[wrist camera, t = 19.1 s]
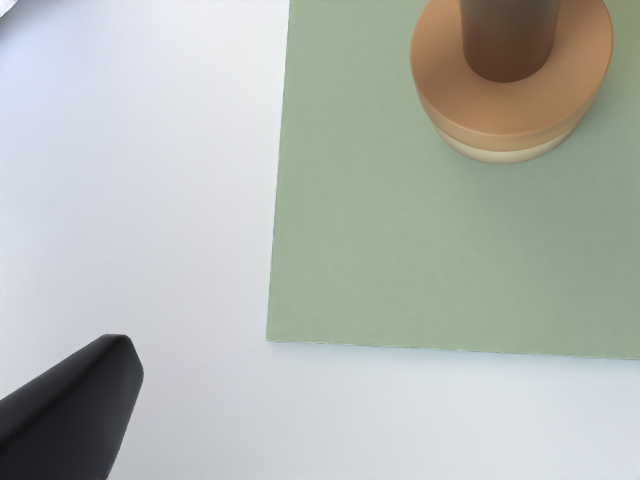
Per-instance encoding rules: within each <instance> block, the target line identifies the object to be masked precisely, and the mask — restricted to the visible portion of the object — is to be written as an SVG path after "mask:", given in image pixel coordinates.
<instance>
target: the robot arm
mask: <svg viewBox="0 0 640 480" xmlns="http://www.w3.org/2000/svg"><path fill="white" fill-rule="evenodd" d="M143 377H144V372H143V367H142V364H141V362H140V360H139V357H138V355H137V352H136V350H135V348H134V345H133V343H132V341H131V339H130V338H129V337H128V336H126V335H121V334H105V335H102V336H101V337H99V338H97V339H96V340H94V341H93V342H91V343H90V344H88V345H86V346H85V347H83V348H82V349H80V350H79V351H77V352H76V353H74V354H72V355H71V356H69V357H68V358H66V359H65V360H63V361H61V362H60V363H58V364H57V365H55V366H54V367H52V368H50V369H49V370H47V371H46V372H44V373H43V374H41V375H39V376H38V377H36V378H35V379H33V380H32V381H30V382H28V383H27V384H25V385H24V386H22V387H21V388H19V389H17V390H16V391H14V392H13V393H11V394H10V395H8V396H7V397H5V398H3V399H2V400H0V480H107V478H108V475H109V473H110V471H111V469H112V466H113V464H114V462H115V459H116V456H117V454H118V451H119V449H120V446H121V443H122V440H123V437H124V434H125V432H126V429H127V426H128V423H129V420H130V417H131V414H132V411H133V409H134V406H135V403H136V400H137V397H138V394H139V391H140V388H141V386H142V382H143Z"/></svg>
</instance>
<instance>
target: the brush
mask: <svg viewBox="0 0 640 480" xmlns="http://www.w3.org/2000/svg"><path fill="white" fill-rule="evenodd" d="M613 38H614V37H613V27H612V22H611V18H610V15H609V12H608V10H607V7H606V5H605V3H604V1H603V0H429V1H428V3H427V4H426V6H425V7H424V9H423V10H422V12H421V14H420V16H419V17H418V20H417V22H416V25H415V27H414V30H413V34H412V38H411V44H410V66H411V72H412V76H413V80H414V84H415V87H416V91H417V94H418V97H419V100H420V103H421V105H422V107H423V109H424V111H425V112H426V114H427V115H428V117H429V118H430V121H431V123H432V125H433V127H434V129H435V130H436V132H437V133H438V135H439V136H440V137H441V138H442V140H443V141H444V142H445V143H446V144H447V145H449V146H450V147H451V148H452V149H453V150H455V151H456V152H458V153H460V154H461V155H463V156H465V157H468V158H470V159H472V160H475V161H479V162H482V163H488V164H498V165H507V164H517V163H522V162H526V161H529V160H532V159H536V158H538V157H540V156H542V155H544V154H547V153H548V152H550V151H551V150H553V149H555V148H556V147H557V146H559V145H560V144H561V143H562V142H563V141H565V140H566V139H567V138H568V136H569V135H570V134H571V133H572V132H573V131H574V129H575V128H576V127H577V125H578V124H579V122H580V120H581V118H582V117H583V116H584V115H585V113H586V112H587V111H588V109H589V108H590V107H591V105H592V104H593V102H594V100H595V98H596V96H597V94H598V92H599V90H600V87H601V85H602V82H603V80H604V77H605V75H606V72H607V69H608V67H609V64H610V61H611V56H612V51H613Z"/></svg>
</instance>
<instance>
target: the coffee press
mask: <svg viewBox="0 0 640 480" xmlns="http://www.w3.org/2000/svg"><path fill="white" fill-rule="evenodd" d="M17 1H18V0H0V17H1V16H2V15H4V14H5V13H6V12H7V11H8V10H9V9H10V8H11V7H12V6H13V5H14V4H15V3H16V2H17Z"/></svg>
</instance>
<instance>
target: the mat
mask: <svg viewBox="0 0 640 480" xmlns="http://www.w3.org/2000/svg"><path fill="white" fill-rule="evenodd" d="M428 1H429V0H290V8H289V22H288V36H287V50H286V64H285V78H284V92H283V106H282V120H281V134H280V148H279V162H278V175H277V189H276V203H275V217H274V231H273V245H272V259H271V273H270V287H269V301H268V315H267V329H266V340H267V341H284V342H303V343H322V344H342V345H361V346H381V347H400V348H419V349H439V350H458V351H477V352H497V353H516V354H536V355H555V356H574V357H594V358H613V359H633V360H640V0H603V1H604V3H605V5H606V7H607V10H608V12H609V15H610V18H611V22H612V27H613V37H614V38H613V51H612V56H611V61H610V64H609V67H608V69H607V72H606V75H605V77H604V80H603V82H602V85H601V87H600V90H599V92H598V94H597V96H596V98H595V100H594V102H593V104H592V105H591V107H590V108H589V109H588V111H587V112H586V113H585V115H584V116H583V117H582V118H581V120H580V122H579V124H578V125H577V127H576V128H575V129H574V131H573V132H572V133H571V134H570V135H569V136H568V138H567V139H566V140H565V141H563V142H562V143H561V144H560V145H559V146H557V147H556V148H555V149H553V150H551V151H550V152H548V153H547V154H544V155H542V156H540V157H538V158H536V159H532V160H529V161H526V162H522V163H517V164H507V165H498V164H488V163H482V162H479V161H475V160H472V159H470V158H468V157H465V156H463V155H461V154H460V153H458V152H456V151H455V150H453V149H452V148H451V147H450V146H449V145H447V144H446V143H445V142H444V141H443V140H442V138H441V137H440V136H439V135H438V133H437V132H436V130H435V129H434V127H433V125H432V123H431V121H430V118H429V117H428V115H427V114H426V112H425V111H424V109H423V107H422V105H421V103H420V100H419V97H418V94H417V91H416V87H415V84H414V80H413V76H412V72H411V66H410V44H411V38H412V34H413V30H414V27H415V25H416V22H417V20H418V17H419V16H420V14H421V12H422V10H423V9H424V7H425V6H426V4H427V3H428Z"/></svg>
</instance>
